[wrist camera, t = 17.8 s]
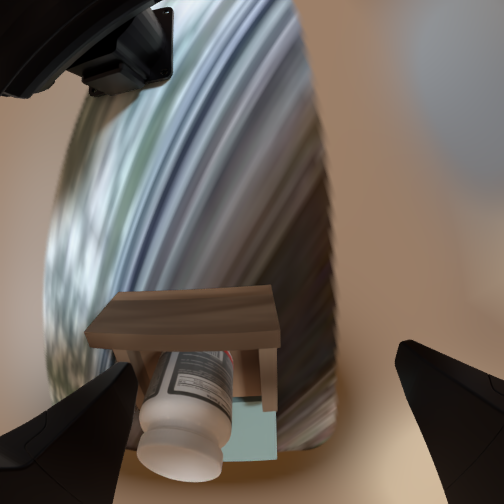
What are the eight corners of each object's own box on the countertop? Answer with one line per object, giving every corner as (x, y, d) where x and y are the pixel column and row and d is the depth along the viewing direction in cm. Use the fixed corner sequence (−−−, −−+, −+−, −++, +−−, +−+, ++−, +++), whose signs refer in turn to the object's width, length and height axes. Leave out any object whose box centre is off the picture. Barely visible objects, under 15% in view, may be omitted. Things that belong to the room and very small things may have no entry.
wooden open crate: (118, 292, 20) (84, 331, 14) (270, 284, 20) (280, 330, 15) (148, 384, 23) (131, 429, 17) (273, 383, 23) (280, 433, 18)
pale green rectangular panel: (146, 400, 22) (167, 458, 23) (275, 400, 22) (277, 459, 23) (150, 393, 23) (169, 451, 24) (274, 392, 23) (276, 451, 24)
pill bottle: (185, 390, 22) (165, 486, 12) (149, 342, 20) (105, 441, 10) (246, 373, 21) (247, 480, 11) (213, 320, 19) (194, 433, 10)
